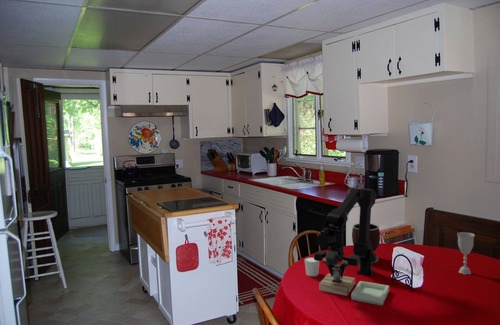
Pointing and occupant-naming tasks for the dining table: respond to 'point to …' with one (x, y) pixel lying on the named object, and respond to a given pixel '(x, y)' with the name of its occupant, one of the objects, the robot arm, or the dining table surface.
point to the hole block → (337, 285)
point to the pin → (336, 273)
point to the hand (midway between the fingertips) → (337, 277)
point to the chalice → (465, 248)
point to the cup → (311, 266)
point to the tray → (370, 293)
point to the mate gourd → (373, 236)
